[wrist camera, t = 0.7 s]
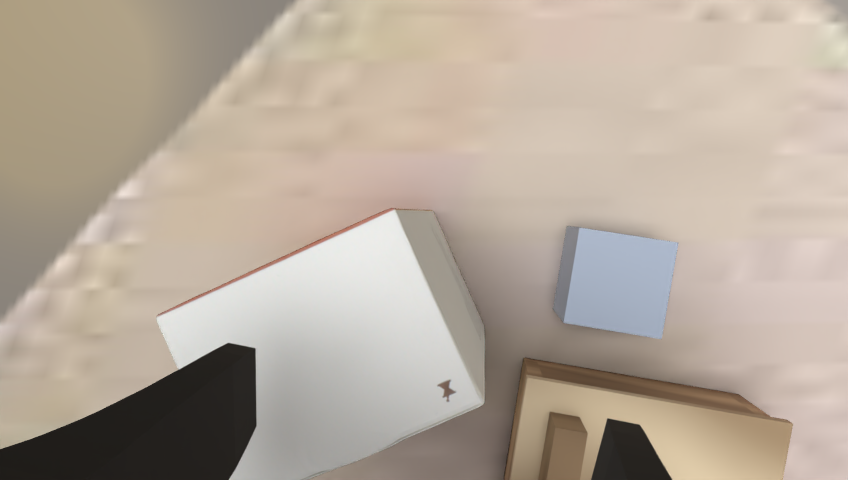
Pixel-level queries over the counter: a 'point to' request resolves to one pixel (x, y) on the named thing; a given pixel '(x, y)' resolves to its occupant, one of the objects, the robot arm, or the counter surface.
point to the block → (615, 281)
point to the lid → (661, 421)
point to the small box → (344, 344)
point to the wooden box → (625, 385)
